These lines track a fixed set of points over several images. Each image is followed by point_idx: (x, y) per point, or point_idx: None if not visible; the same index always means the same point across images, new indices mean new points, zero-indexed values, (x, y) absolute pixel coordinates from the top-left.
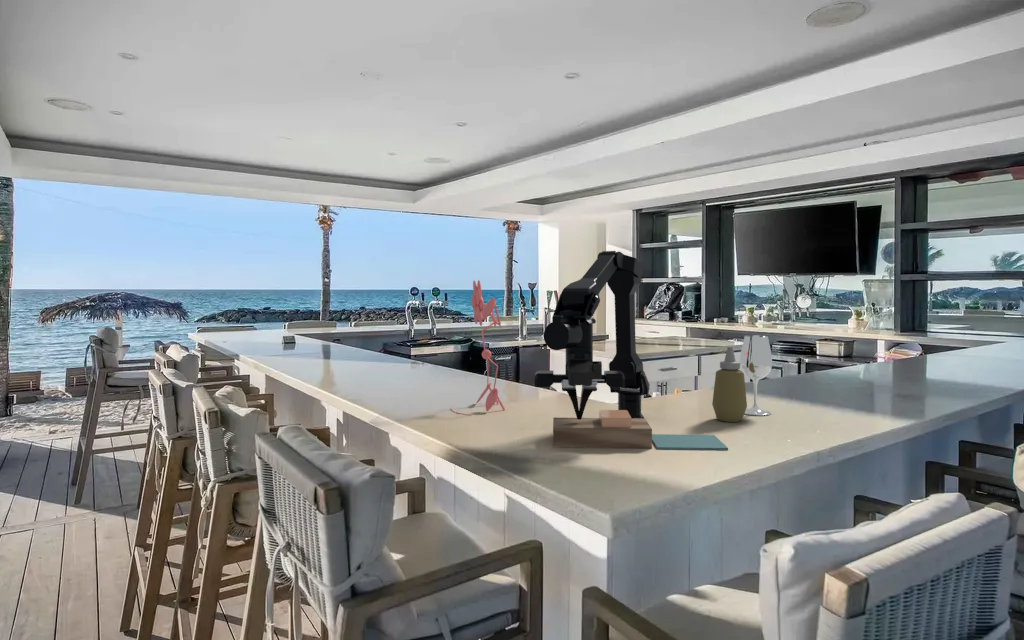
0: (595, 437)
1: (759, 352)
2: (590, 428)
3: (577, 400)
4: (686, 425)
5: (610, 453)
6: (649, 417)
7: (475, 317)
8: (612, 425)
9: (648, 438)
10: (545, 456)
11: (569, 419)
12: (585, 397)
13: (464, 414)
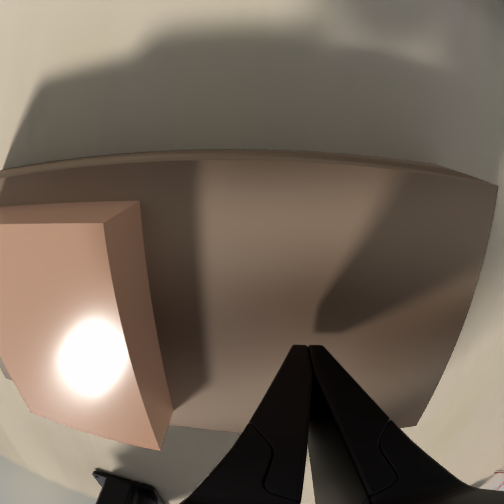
0: (204, 153)
1: None
2: (230, 160)
3: (353, 461)
4: (4, 409)
5: (149, 49)
6: (90, 478)
7: None
8: (66, 204)
9: None
10: (464, 16)
11: None
12: (244, 494)
13: (502, 472)
